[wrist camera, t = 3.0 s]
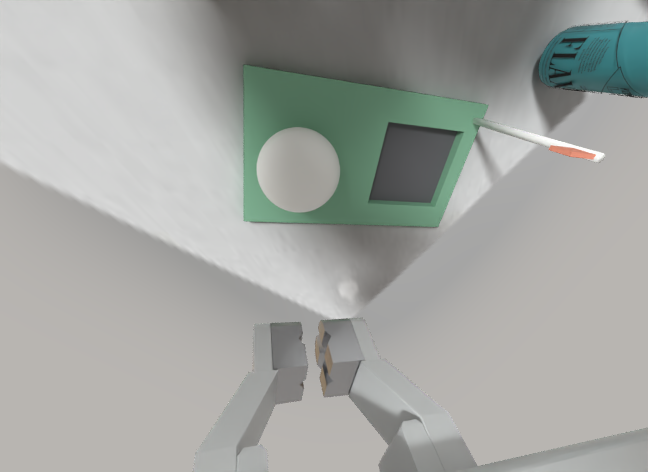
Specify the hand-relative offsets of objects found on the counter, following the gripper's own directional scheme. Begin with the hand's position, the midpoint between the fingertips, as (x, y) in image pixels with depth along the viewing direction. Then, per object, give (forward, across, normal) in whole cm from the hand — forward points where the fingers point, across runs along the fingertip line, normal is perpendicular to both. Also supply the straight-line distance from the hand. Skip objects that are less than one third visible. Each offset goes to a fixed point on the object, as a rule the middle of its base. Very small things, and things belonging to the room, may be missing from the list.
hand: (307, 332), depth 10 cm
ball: (+23, +3, -2) cm, 23 cm away
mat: (+29, +12, -2) cm, 32 cm away
